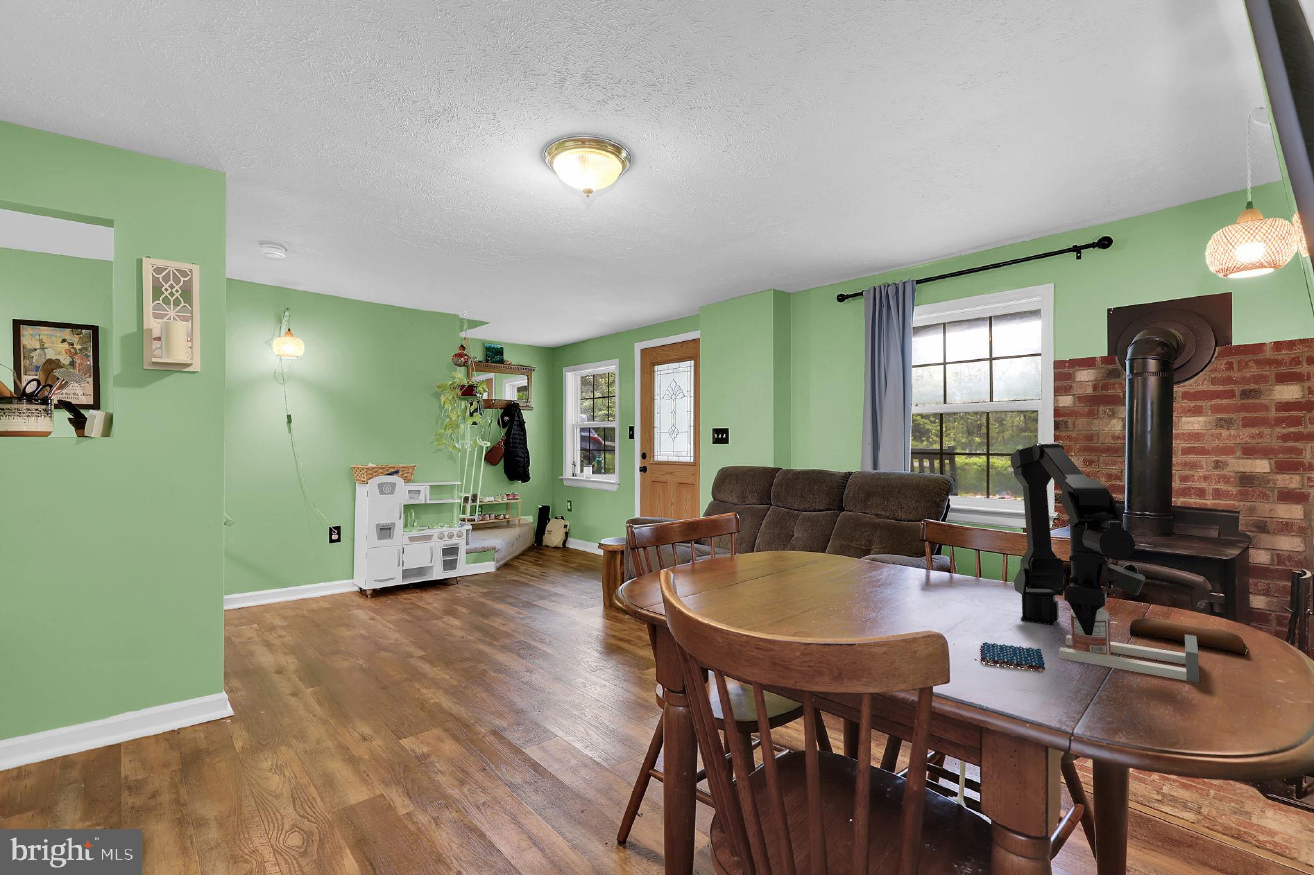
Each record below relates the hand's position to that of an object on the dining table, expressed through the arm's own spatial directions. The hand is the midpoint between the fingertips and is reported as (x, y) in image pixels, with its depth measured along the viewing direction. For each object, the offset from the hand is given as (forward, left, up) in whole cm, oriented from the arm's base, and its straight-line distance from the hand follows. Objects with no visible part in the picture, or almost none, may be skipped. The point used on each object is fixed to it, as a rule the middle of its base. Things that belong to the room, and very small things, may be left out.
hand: (1090, 631), depth 118 cm
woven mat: (-11, -12, -5) cm, 17 cm away
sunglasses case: (+15, +21, -5) cm, 26 cm away
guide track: (+6, 0, -4) cm, 7 cm away
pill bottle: (0, 0, -5) cm, 5 cm away
